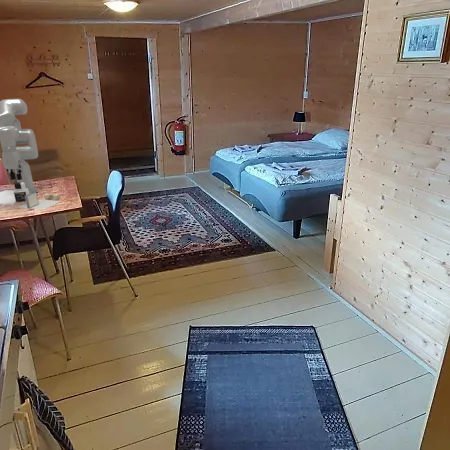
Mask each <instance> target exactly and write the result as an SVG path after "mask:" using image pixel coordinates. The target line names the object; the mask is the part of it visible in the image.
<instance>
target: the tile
mask: <svg viewBox="0 0 450 450" xmlns="http://www.w3.org/2000/svg"><path fill="white" fill-rule="evenodd" d="M25 200H26V201H25V204H27V208H26V209H29V208H32V207H34V206H36V205H39V202H38V200H39V199H38V194H37V191H35V192H31V193H29V194H28V195H25Z"/></svg>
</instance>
